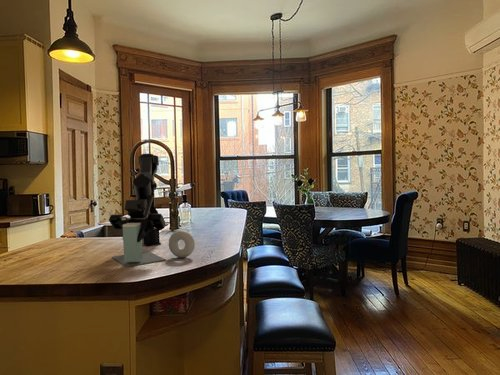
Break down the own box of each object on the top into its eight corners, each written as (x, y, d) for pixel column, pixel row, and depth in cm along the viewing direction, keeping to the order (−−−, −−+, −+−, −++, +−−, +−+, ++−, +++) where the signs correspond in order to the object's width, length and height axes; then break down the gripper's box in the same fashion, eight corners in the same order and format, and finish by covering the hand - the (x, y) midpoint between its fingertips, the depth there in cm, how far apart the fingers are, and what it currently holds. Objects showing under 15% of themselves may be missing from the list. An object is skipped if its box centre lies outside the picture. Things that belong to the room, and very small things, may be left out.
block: (130, 258, 129) (128, 222, 128) (142, 258, 128) (140, 222, 128) (124, 261, 124) (122, 224, 124) (137, 261, 124) (135, 224, 123)
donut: (196, 257, 133) (195, 229, 133) (192, 259, 130) (191, 231, 130) (171, 256, 136) (170, 229, 136) (167, 258, 133) (166, 230, 132)
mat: (148, 252, 144) (148, 251, 144) (165, 260, 130) (165, 259, 130) (112, 257, 137) (112, 256, 137) (126, 267, 122) (126, 266, 122)
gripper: (109, 191, 130) (94, 228, 120) (161, 190, 128) (150, 227, 118) (121, 211, 138) (108, 246, 128) (169, 210, 136) (160, 246, 126)
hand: (130, 241), depth 125 cm, fingers closed on block, 4 cm apart
